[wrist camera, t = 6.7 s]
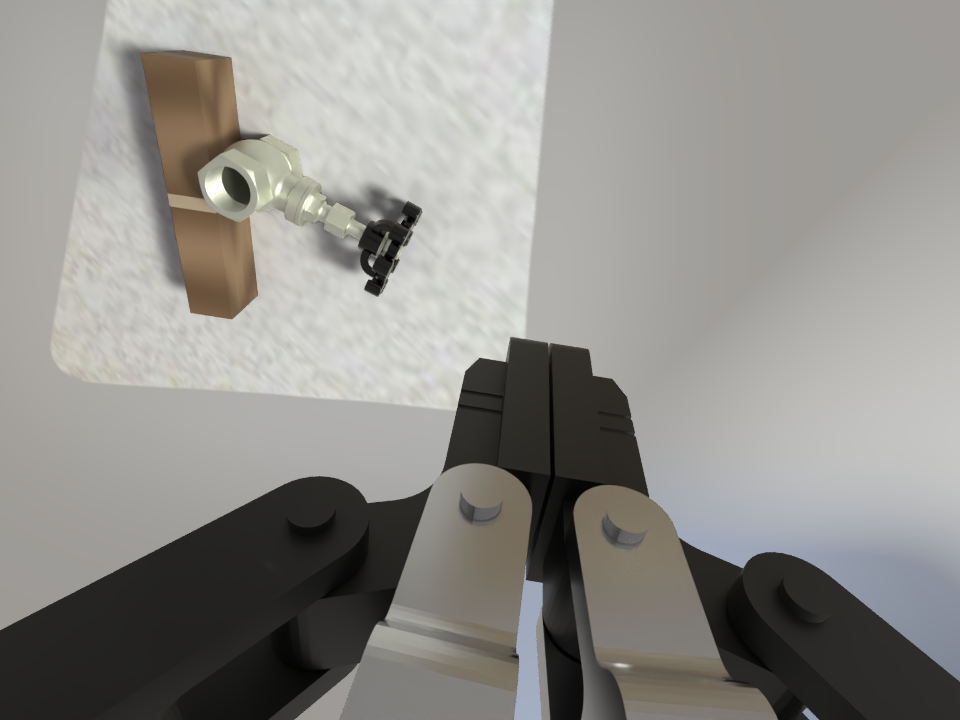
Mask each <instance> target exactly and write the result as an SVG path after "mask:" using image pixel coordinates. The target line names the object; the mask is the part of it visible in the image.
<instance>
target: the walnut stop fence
mask: <svg viewBox="0 0 960 720" xmlns="http://www.w3.org/2000/svg"><path fill="white" fill-rule="evenodd" d="M141 56H142V62H143V67H144V72H145V77H146V82H147V88H148V93H149V98H150V103H151V109H152V114H153V119H154V124H155V129H156V135H157V140H158V145H159V150H160V156H161V161H162V166H163V171H164V176H165V182H166V187H167V192H168V193H167V195H168V200H169V205H170V208H171V213H172V218H173V223H174V229H175V234H176V239H177V244H178V250H179V255H180V260H181V265H182V270H183V276H184V281H185V286H186V291H187V297H188V302H189V307H190V312H191V313H195V314H202V315H208V316H214V317H221V318H227V319H233V318H234V317H235V316H236V315H237V314H238V313H240V312H241V311H242V310H243V309H244V308H245V307H246V306H247V305H248V304H249V303H250V302H251V301H252V300H253V299H255V298H256V297H257V296H258V291H257V282H256V273H255V265H254V256H253V247H252V238H251V229H250V220H249V217H247V218H246V219H244V220H243V221H241V222H237V221H234V220H232V219H229V218H227V217H225V216H223V215H221V214H219V213H217V212H216V211H214V210H212V209H211V208H209V207H208V206H207V204H206V201H205V199H204V196H203V194H202V191H201V187H200V183H199V178H198V171H200V170H201V169H202V168H203V167H204V166H205V165H207V164H208V163H209V162H210V161H212V160H213V159H214V158H215V157H217V156H218V155H219V154H221V153H223V152H224V151H225V150H226V149H227V148H228V147H229V146H231V145H232V144H234V143H236V142H238V141H241V140H240V132H239V123H238V114H237V105H236V96H235V87H234V78H233V69H232V61H231V58H230V57H223V56H216V55H210V54H203V53H196V52H189V51H167V52H151V53H141Z"/></svg>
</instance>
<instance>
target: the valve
mask: <svg viewBox="0 0 960 720" xmlns="http://www.w3.org/2000/svg"><path fill="white" fill-rule="evenodd" d="M198 178H199V183H200V187H201V191H202V194H203V196H204V199H205V201H206V204H207V206H208V207H209V208H211V209H212V210H214V211H216V212H217V213H219V214H221V215H223V216H225V217H227V218H229V219H232V220H234V221H237V222H241V221H243V220H244V219H246V218H247V217H249V216H250V215H252V214H253V213H255V212H264V211H269V210H272V209H274V208H276V209H279V210H280V211H282V212H284V213H285V219H286V220H288V221H290V222H292V223H294V224H296V225H298V226H300V227H301V226H303V225H305V224H306V223H307V221H308V222H310V223H312V224H314V223H316V222H317V221H318V220H319V221H321V222H323V223H325V224H324V230H326V231H327V232H329V233H331V234H333V235H335V236H337V237H339V238H341V239H343V238H345V237H346V236H347V234H349V235H351V236H352V237H354V238H356V239H358V240H360V241H359V244H358V248H359V249H361V250H362V251H363V252H362V254H361V257H360V263H361V267H362V269H363V270H364V272H365V273H366V274H367V275H369V276H371V277H373V279H372V280H368V281H367V283H366V286H365V288H364V290H365V291H367V292H369V293H371V294H373V295H375V296H377V297H378V296H379V295H380V294H382V292H383V291H384V289H385V287H386V285H387V283H388V277H389V275H390V273H393V272H394V271H395V269H396V267H397V265H398V263H399V257H400V255H401V253H402V251H403V249H404V247H405V246H407V245H408V243H409V241H410V239H411V237H412V235H413V231H412V229H413V227H414V226H416V224H417V223H418V221H419V219H420V217H421V214H422V209H421V208H420V207H418V206H416V205H414V204H413V203H411V202H409V201H407V203H406V204H405V206H404V208H403V210H402V213H404V214H405V216H407V217H405V218H404V220H403V221H402V223H401V224H399V223H397V222H395V223H394V222H392V221H389V220H379V221H377V222H374V221H370V222H369V223H368V225H367V226H365V225H363V224H361V223H359V222H357V221H356V220H355V216H356V215H355V212H354V211H352V210H350V209H348V208H346V207H345V206H343V205H341V204H339V203H336V204H335V205H334V206H330V205H328V204H327V198H326V196H324V195H322V194H321V189H322V187H321V184H320V183H318V182H316V181H315V180H313V179H311V178H309V177H307V176H303V171H302V166H301V161H300V156H299V151H298V149H296V148H294V147H292V146H291V145H289V144H287V143H285V142H283V141H281V140H280V139H278V138H276V137H274V136H272V135H268V136H266V137H263V138H260V139H259V140H250V139H249V140H242V141H238V142H236V143H234V144H232V145H231V146H229V147H228V148H227V149H226V150H225V151H224V152H223V153H221V154H219V155H218V156H217V157H215V158H214V159H213V160H212V161H210V162H209V163H208V164H207V165H205V166H204V167H203V168H202V169H201V170H200V171H198ZM371 255H372V256H374V257H376V258H377V259H376V261H375V263H374V265H373V267H370V265H369V263H368V261H369V258H370V256H371Z"/></svg>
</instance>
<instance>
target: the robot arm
mask: <svg viewBox="0 0 960 720" xmlns="http://www.w3.org/2000/svg"><path fill="white" fill-rule="evenodd" d="M634 433H635V431H634V427H633V422H632V420H631V413H630V409H629V404H628V400H627V397H626V395H625V394H624V393H623V392H622V390H621V389H620V388H619V387H618V385H617V384H616V383H615V382H614V381H613V379H609V378H602V377H597V376H593V374H592V368H591V360H590V353H589V350H588V349H584V348H578V347H572V346H565V345H559V344H553V343H551V344H550V345H549V348H548V343H546V342H539V341H533V340H527V339H521V338H514V337H510V342H509V347H508V352H507V358H506V362H502V361H496V360H489V359H483V358H479V359H478V360H477V361H476V362H475V363H474V364H473V365H472V366H471V367H470V368H468V369H467V370H466V371H465V375H464V380H463V384H462V389H461V393H460V398H459V402H458V408H457V411H456V416H455V421H454V425H453V430H452V434H451V438H450V443H449V448H448V452H447V457H446V461H445V465H444V468H443V471H442V474H441V475H440V477H438V478H437V480H436V481H435V483H434V484H432V485H431V486H430V487H429V488H427V489H426V490H424V491H423V492H421V493H419V494H416V495H414V496H411V497H408V498H405V499H400V500H394V501H384V502H374V503H367V502H366V500H365V498H364V496H363V495H362V494H361V493H360V491H359V490H357V489H356V488H355V487H354V486H352V485H351V484H349V483H347V482H345V481H342V480H339V479H336V478H331V477H321V476H318V477H307V478H302V479H298V480H295V481H291V482H289V483H287V484H284V485H282V486H280V487H278V488H276V489H274V490H272V491H270V492H269V493H267V494H265V495H263V496H261V497H259V498H257V499H255V500H253V501H251V502H249V503H247V504H245V505H244V506H241V507H239V508H238V509H235V510H234V511H232V512H230V513H228V514H226V515H224V516H222V517H220V518H218V519H216V520H214V521H212V522H210V523H208V524H206V525H204V526H202V527H200V528H199V529H197V530H195V531H193V532H191V533H189V534H187V535H185V536H183V537H181V538H179V539H177V540H175V541H173V542H172V543H169V544H167V545H165V546H164V547H161V548H160V549H158V550H156V551H154V552H152V553H150V554H148V555H146V556H144V557H142V558H140V559H138V560H136V561H134V562H132V563H130V564H128V565H127V566H125V567H123V568H121V569H119V570H117V571H115V572H113V573H111V574H109V575H107V576H105V577H103V578H101V579H99V580H97V581H95V582H94V583H91V584H90V585H88V586H86V587H84V588H82V589H80V590H78V591H76V592H74V593H72V594H70V595H68V596H66V597H64V598H62V599H60V600H58V601H56V602H54V603H53V604H51V605H49V606H47V607H45V608H43V609H41V610H39V611H37V612H35V613H33V614H31V615H29V616H27V617H25V618H23V619H21V620H19V621H17V622H15V623H14V624H12V625H10V626H8V627H6V628H4V629H2V630H0V720H294V719H295V718H297V717H298V716H299V715H300V714H301V713H303V712H304V711H305V710H306V709H307V708H309V707H310V706H311V705H312V704H313V703H315V702H316V701H317V700H318V699H319V698H321V697H322V696H323V695H324V694H325V693H327V692H328V691H329V690H330V689H331V688H332V687H334V686H335V685H336V684H337V683H339V682H340V681H341V680H342V679H343V678H345V677H346V676H347V675H348V674H349V673H350V672H351V671H352V670H353V669H354V668H355V667H356V665H357V664H358V663H360V664H359V667H358V670H357V673H356V675H355V678H354V681H353V684H352V686H351V689H350V692H349V695H348V698H347V700H346V703H345V706H344V708H343V711H342V714H341V717H340V720H514V712H515V703H516V694H517V684H518V673H519V655H518V654H516V642H517V633H518V625H519V616H520V608H521V600H522V591H523V583H524V575H525V566H526V580H529V581H535V582H541V583H543V605H542V608H541V611H540V615H539V618H538V621H537V626H536V638H537V652H538V668H539V684H540V700H541V715H542V720H809V719H808V718H807V717H806V716H805V715H804V714H803V713H802V712H803V711H804V710H805V709H806V708H808V709H809V710H810V711H811V712H812V713H813V714H814V715H815V716H816V717H817V718H818V719H819V720H960V682H959V681H958V680H957V679H956V678H954V677H953V676H952V675H951V674H949V673H948V672H947V671H946V670H944V669H943V668H942V667H941V666H940V665H938V664H937V663H936V662H935V661H933V660H932V659H931V658H930V657H929V656H927V655H926V654H925V653H924V652H922V651H921V650H920V649H919V648H918V647H916V646H915V645H914V644H913V643H911V642H910V641H909V640H907V639H906V638H905V637H904V636H903V635H902V634H900V633H899V632H898V631H897V630H895V629H894V628H893V627H892V626H890V625H889V624H888V623H887V622H886V621H884V620H883V619H882V618H881V617H879V616H878V615H877V614H876V613H875V612H873V611H872V610H871V609H870V608H868V607H867V606H866V605H865V604H863V603H862V602H861V601H860V600H859V599H857V598H856V597H855V596H854V595H852V594H851V593H850V592H849V591H847V590H846V589H845V588H844V587H843V586H841V585H840V584H839V583H838V582H836V581H835V580H834V579H833V578H832V577H830V576H829V575H827V574H826V573H825V572H823V571H822V570H820V569H819V568H817V567H815V566H814V565H812V564H810V563H808V562H806V561H804V560H802V559H800V558H797V557H794V556H791V555H787V554H783V553H776V552H766V553H762V554H758V555H756V556H754V557H752V558H751V559H750V560H749V561H748V562H747V563H746V565H745V567H744V568H740V567H738V566H736V565H733V564H731V563H729V562H727V561H724V560H722V559H720V558H717V557H715V556H713V555H710V554H708V553H706V552H703V551H701V550H699V549H697V548H695V547H693V546H691V545H689V544H688V543H686V542H685V541H683V540H682V539H680V538H679V537H678V535H677V532H676V529H675V527H674V525H673V522H672V521H671V519H670V518H669V516H668V515H667V514H666V512H665V511H664V510H663V509H662V508H661V507H660V506H659V505H658V504H657V503H655V502H654V501H653V500H651V499H650V498H649V494H648V489H647V485H646V481H645V476H644V472H643V467H642V463H641V458H640V454H639V449H638V445H637V440H636V437H635V436H634ZM526 562H527V563H526Z"/></svg>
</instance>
